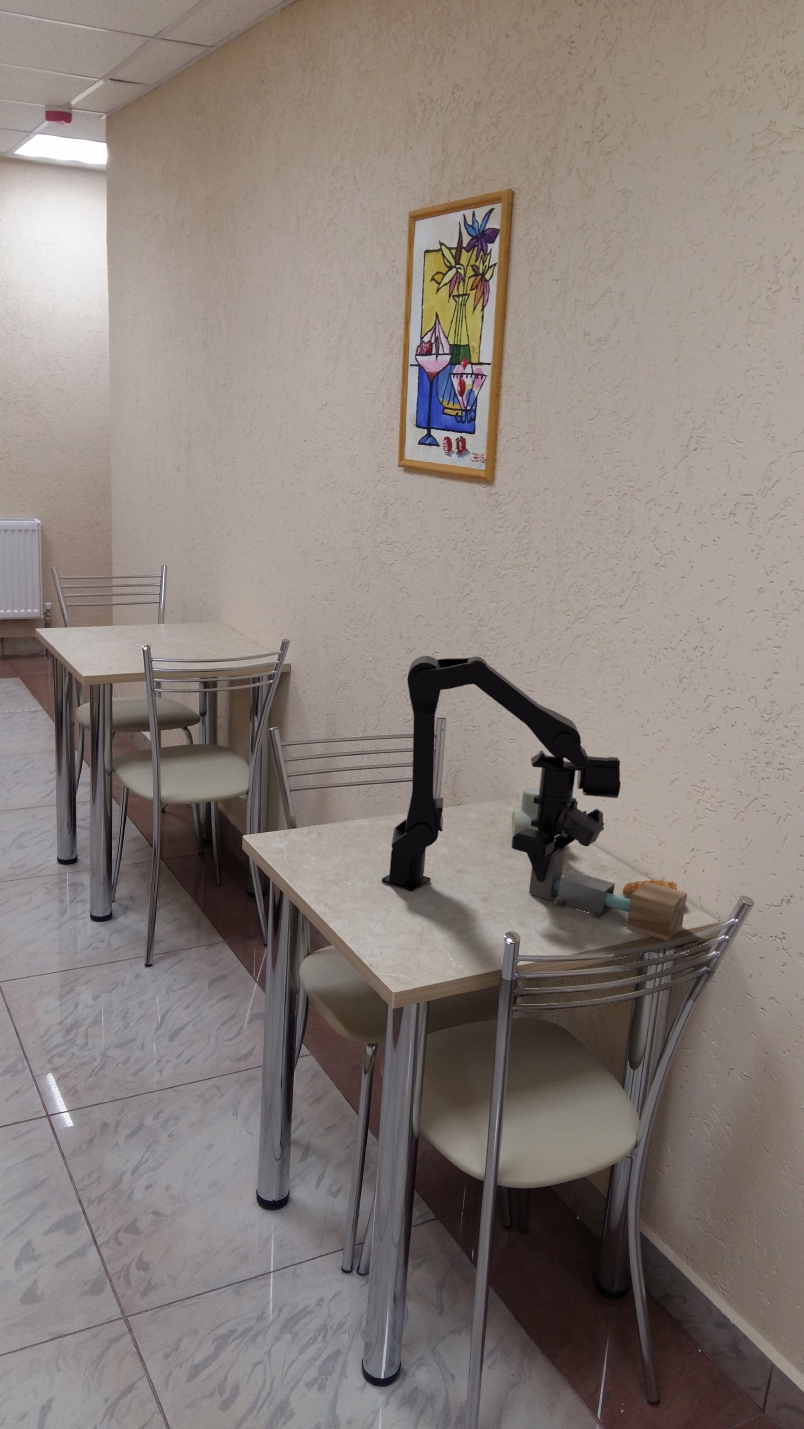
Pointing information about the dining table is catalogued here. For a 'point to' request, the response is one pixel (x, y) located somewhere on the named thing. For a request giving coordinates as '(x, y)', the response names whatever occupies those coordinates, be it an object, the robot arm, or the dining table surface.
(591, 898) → the sleeve
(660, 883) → the pastry
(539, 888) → the tube
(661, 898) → the socket block
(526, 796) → the air freshener
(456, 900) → the dining table surface
